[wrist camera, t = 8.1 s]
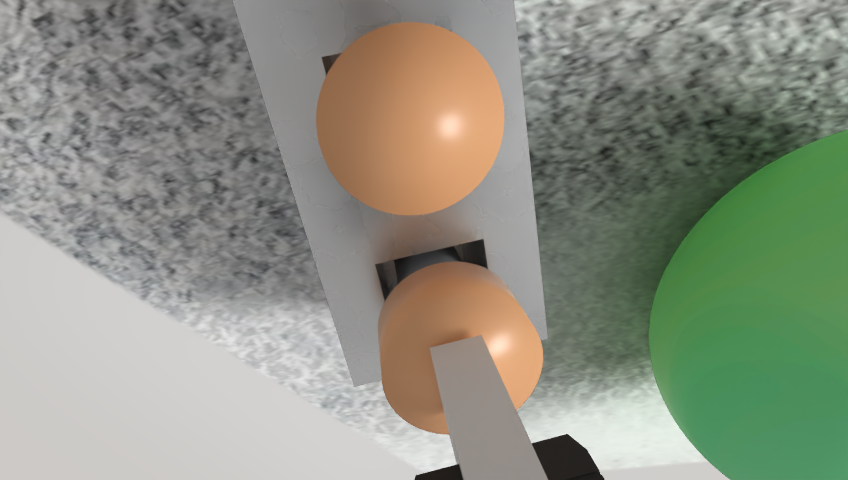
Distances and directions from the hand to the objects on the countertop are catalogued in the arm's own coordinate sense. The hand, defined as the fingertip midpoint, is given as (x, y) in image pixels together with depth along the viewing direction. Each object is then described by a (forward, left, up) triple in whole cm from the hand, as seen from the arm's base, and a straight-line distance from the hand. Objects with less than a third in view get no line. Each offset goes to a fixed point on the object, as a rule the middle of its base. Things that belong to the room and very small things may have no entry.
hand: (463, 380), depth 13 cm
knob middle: (-7, 0, -9) cm, 11 cm away
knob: (0, 0, -8) cm, 8 cm away
